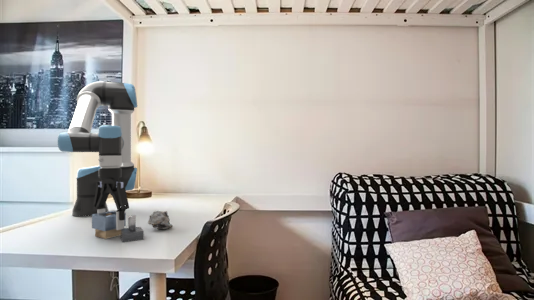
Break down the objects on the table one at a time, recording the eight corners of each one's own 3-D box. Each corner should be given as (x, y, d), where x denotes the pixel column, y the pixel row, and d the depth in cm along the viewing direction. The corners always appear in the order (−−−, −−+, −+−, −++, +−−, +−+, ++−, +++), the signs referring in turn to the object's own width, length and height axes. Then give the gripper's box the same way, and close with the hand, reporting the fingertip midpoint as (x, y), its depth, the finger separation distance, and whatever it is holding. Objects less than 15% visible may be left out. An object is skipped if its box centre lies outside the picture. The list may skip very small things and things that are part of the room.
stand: (95, 236, 111) (95, 214, 111) (111, 232, 117) (111, 211, 117) (105, 238, 108) (105, 216, 108) (122, 234, 114) (122, 213, 114)
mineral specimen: (167, 241, 123) (146, 232, 125) (178, 224, 128) (157, 216, 130) (164, 228, 116) (141, 220, 118) (175, 211, 122) (153, 203, 123)
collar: (91, 228, 111) (92, 214, 111) (112, 223, 118) (112, 210, 118) (105, 231, 107) (105, 216, 107) (125, 226, 114) (125, 213, 114)
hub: (120, 237, 110) (120, 215, 110) (140, 234, 114) (141, 213, 114) (122, 242, 105) (122, 218, 105) (143, 239, 108) (143, 216, 108)
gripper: (82, 168, 115) (82, 227, 114) (120, 167, 104) (121, 233, 103) (101, 167, 122) (101, 223, 121) (139, 166, 110) (140, 228, 109)
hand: (110, 227), depth 112 cm, fingers open, 11 cm apart
